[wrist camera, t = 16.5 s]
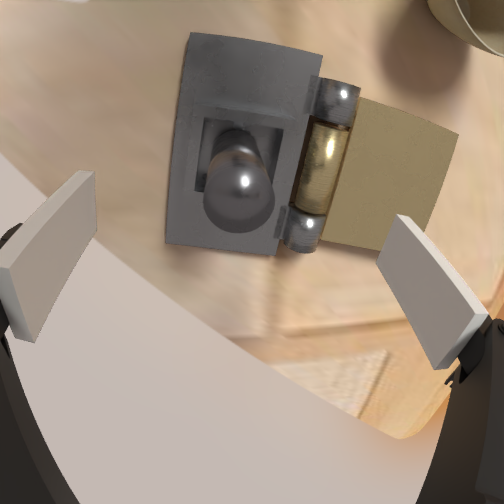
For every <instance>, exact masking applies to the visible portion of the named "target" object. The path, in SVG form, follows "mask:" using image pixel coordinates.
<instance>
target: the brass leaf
mask: <svg viewBox="0 0 504 504" xmlns="http://www.w3.org/2000/svg"><path fill="white" fill-rule="evenodd" d="M458 136H459V134H457V133H454V132H452V131H450V130H448V129H445V128H443V127H441V126H438V125H436V124H434V123H431V122H429V121H426V120H424V119H421V118H419V117H416V116H414V115H411V114H408V113H406V112H403V111H400V110H397V109H395V108H392V107H389V106H386V105H383V104H380V103H377V102H374V101H371V100H368V99H365V98H361V97H359V99H358V103H357V107H356V111H355V115H354V119H353V123H352V126H351V127H350V128H349V131H347V130H344V129H342V128H339V127H336V126H333V125H329V124H325V123H320V122H314V125H313V129H312V133H311V138H310V142H309V146H308V150H307V154H306V158H305V162H304V166H303V171H302V175H301V179H300V183H299V187H298V191H297V195H296V198H295V202H294V204H295V205H296V206H297V207H298V208H299V209H301V210H303V211H306V212H309V213H313V214H324V213H325V215H326V219H325V222H324V225H323V228H322V232H321V235H320V239H321V240H324V241H330V242H335V243H340V244H346V245H351V246H356V247H362V248H367V249H372V250H377V251H381V250H382V247H383V245H384V243H385V240H386V238H387V235H388V233H389V231H390V228H391V226H392V223H393V221H394V218H395V216H396V214H399V215H404V216H408V217H410V218H411V219H412V220H413V222H414V223H415V224H416V225H417V226H418V227H419V228H420V229H421V230H422V231H423V233H424V231H425V228H426V226H427V224H428V221H429V219H430V216H431V214H432V211H433V209H434V206H435V203H436V201H437V198H438V195H439V193H440V190H441V187H442V185H443V182H444V179H445V176H446V173H447V170H448V167H449V164H450V161H451V158H452V155H453V152H454V149H455V146H456V142H457V139H458Z"/></svg>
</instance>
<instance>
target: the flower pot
mask: <svg viewBox="0 0 504 504" xmlns="http://www.w3.org/2000/svg"><path fill="white" fill-rule="evenodd" d="M427 3H428V6H429V8H430V10H431V12H432V14H433V15H434V17H435V18H436V19H437V20H438V21H439V22H440V23H441V24H442V25H443V26H444V27H445V28H446V29H448V30H449V31H450V32H451V33H453V34H454V35H456V36H457V37H459V38H460V39H462V40H463V41H465V42H467V43H469V44H471V45H473V46H475V47H477V48H479V49H481V50H484V51H486V52H489V53H491V54H494V55H497V56H500V57H504V0H427Z"/></svg>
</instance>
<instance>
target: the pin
mask: <svg viewBox="0 0 504 504" xmlns="http://www.w3.org/2000/svg"><path fill="white" fill-rule="evenodd" d="M203 206H204V210H205V213H206V215H207V217H208V218H209V220H210V221H211V222H212V223H213V224H214V225H215V226H217V227H218V228H220V229H221V230H224V231H226V232H230V233H247V232H251V231H253V230H256V229H257V228H259V227H261V226H262V225H263V224H264V223H265V222H266V221H267V220H268V219H269V218H270V216H271V214H272V212H273V210H274V206H275V194H274V190H273V187H272V185H271V182H270V179H269V176H268V174H267V171H266V168H265V165H264V163H263V160H262V157H261V155H260V152H259V149H258V147H257V144H256V142H255V140H254V139H253V138H252V137H251V136H250V135H249V134H247V133H245V132H242V131H238V130H233V131H228V132H225V133H223V134H222V135H220V136H219V137H218V138H217V139H216V141H215V143H214V145H213V148H212V153H211V158H210V163H209V168H208V174H207V179H206V184H205V190H204V196H203Z"/></svg>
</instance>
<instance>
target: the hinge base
mask: <svg viewBox="0 0 504 504" xmlns="http://www.w3.org/2000/svg"><path fill="white" fill-rule="evenodd" d="M322 58H323V55H319V54H315V53H311V52H307V51H303V50H299V49H295V48H290V47H286V46H281V45H276V44H271V43H266V42H261V41H255V40H249V39H243V38H236V37H229V36H222V35H213V34H204V33H193V32H190V37H189V42H188V48H187V54H186V59H185V65H184V71H183V78H182V84H181V91H180V98H179V105H178V112H177V120H176V128H175V136H174V145H173V154H172V164H171V175H170V186H169V198H168V212H167V227H166V243H169V244H178V245H186V246H195V247H203V248H212V249H220V250H229V251H237V252H246V253H255V254H263V255H272V256H275V255H276V251H277V247H278V243H279V239H284V244H285V245H286V246H287V247H288V248H290V249H291V250H293V251H296V252H299V253H313V252H314V251H315V250H316V248H317V244H318V241H319V238H320V235H321V232H322V228H323V225H324V222H325V219H326V215H325V214H313V213H309V212H306V211H303V210H301V209H299V208H298V207H297V206H296V205H295V204H294V203H290V202H289V199H290V195H291V191H292V187H293V183H294V179H295V175H296V171H297V166H298V162H299V158H300V154H301V150H302V145H303V141H304V137H305V133H306V128H307V124H308V120H309V115H312V116H315V117H317V118H319V119H322V120H325V121H329V122H332V123H336V124H340V125H344V126H349V127H351V126H352V123H353V119H354V115H355V111H356V107H357V103H358V99H359V95H360V91H361V88H359V87H356V86H353V85H350V84H347V83H343V82H340V81H336V80H332V79H327V78H321V77H318V76H319V71H320V67H321V62H322ZM233 130H238V131H242V132H245V133H247V134H249V135H250V136H251V137H252V138H253V139H254V140H255V142H256V144H257V147H258V149H259V152H260V155H261V157H262V160H263V163H264V165H265V168H266V171H267V174H268V176H269V179H270V182H271V185H272V187H273V190H274V194H275V206H274V210H273V212H272V214H271V216H270V218H269V219H268V220H267V221H266V222H265V223H264V224H263V225H262V226H261V227H259V228H257V229H256V230H253V231H251V232H247V233H230V232H226V231H224V230H221V229H220V228H218V227H217V226H215V225H214V224H213V223H212V222H211V221H210V220H209V218H208V217H207V215H206V213H205V210H204V206H203V196H204V190H205V184H206V179H207V174H208V168H209V163H210V158H211V153H212V148H213V145H214V143H215V141H216V139H217V138H218V137H219V136H220V135H222V134H223V133H225V132H228V131H233Z"/></svg>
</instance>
